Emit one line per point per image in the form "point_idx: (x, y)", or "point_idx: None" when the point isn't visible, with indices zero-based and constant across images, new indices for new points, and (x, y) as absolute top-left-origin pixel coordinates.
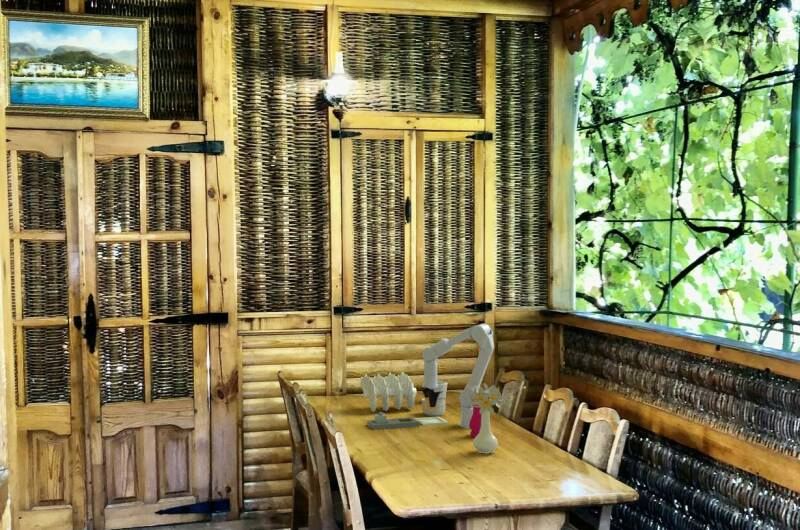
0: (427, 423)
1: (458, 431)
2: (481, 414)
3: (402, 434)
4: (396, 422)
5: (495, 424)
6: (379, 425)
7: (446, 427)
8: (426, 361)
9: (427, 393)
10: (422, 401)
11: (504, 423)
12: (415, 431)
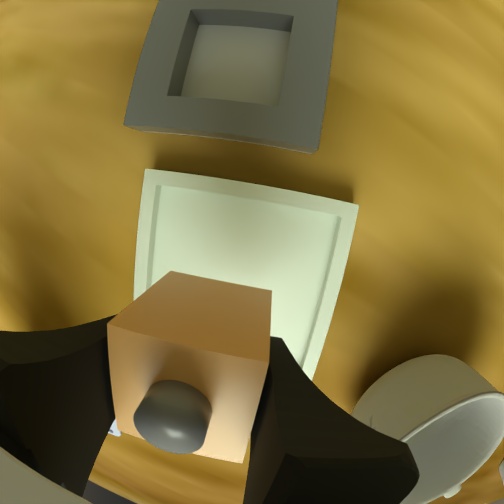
0: (140, 205)
1: (11, 285)
2: None
3: (70, 9)
4: None
5: (99, 462)
6: None
7: (82, 290)
8: None
9: (32, 359)
10: (483, 389)
11: (110, 482)
12: (75, 77)
